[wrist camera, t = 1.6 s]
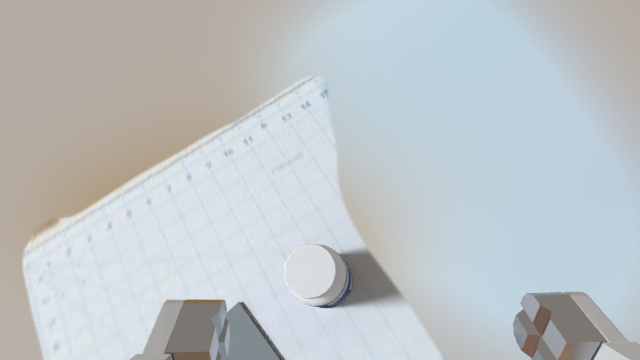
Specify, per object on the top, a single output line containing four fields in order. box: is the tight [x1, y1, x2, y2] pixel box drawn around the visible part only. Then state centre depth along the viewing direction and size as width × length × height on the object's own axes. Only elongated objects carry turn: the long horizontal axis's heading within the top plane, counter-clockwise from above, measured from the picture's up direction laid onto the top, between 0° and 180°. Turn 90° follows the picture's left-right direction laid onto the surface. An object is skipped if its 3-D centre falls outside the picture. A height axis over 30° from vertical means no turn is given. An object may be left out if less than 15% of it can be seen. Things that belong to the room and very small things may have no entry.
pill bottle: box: [284, 244, 353, 308], centre depth 38 cm, size 6×6×10 cm
